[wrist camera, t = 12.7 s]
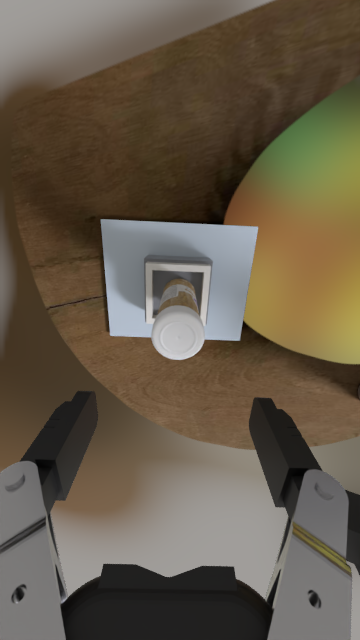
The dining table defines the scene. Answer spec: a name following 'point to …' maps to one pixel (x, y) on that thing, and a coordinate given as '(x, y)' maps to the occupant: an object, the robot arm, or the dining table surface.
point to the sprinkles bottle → (178, 322)
